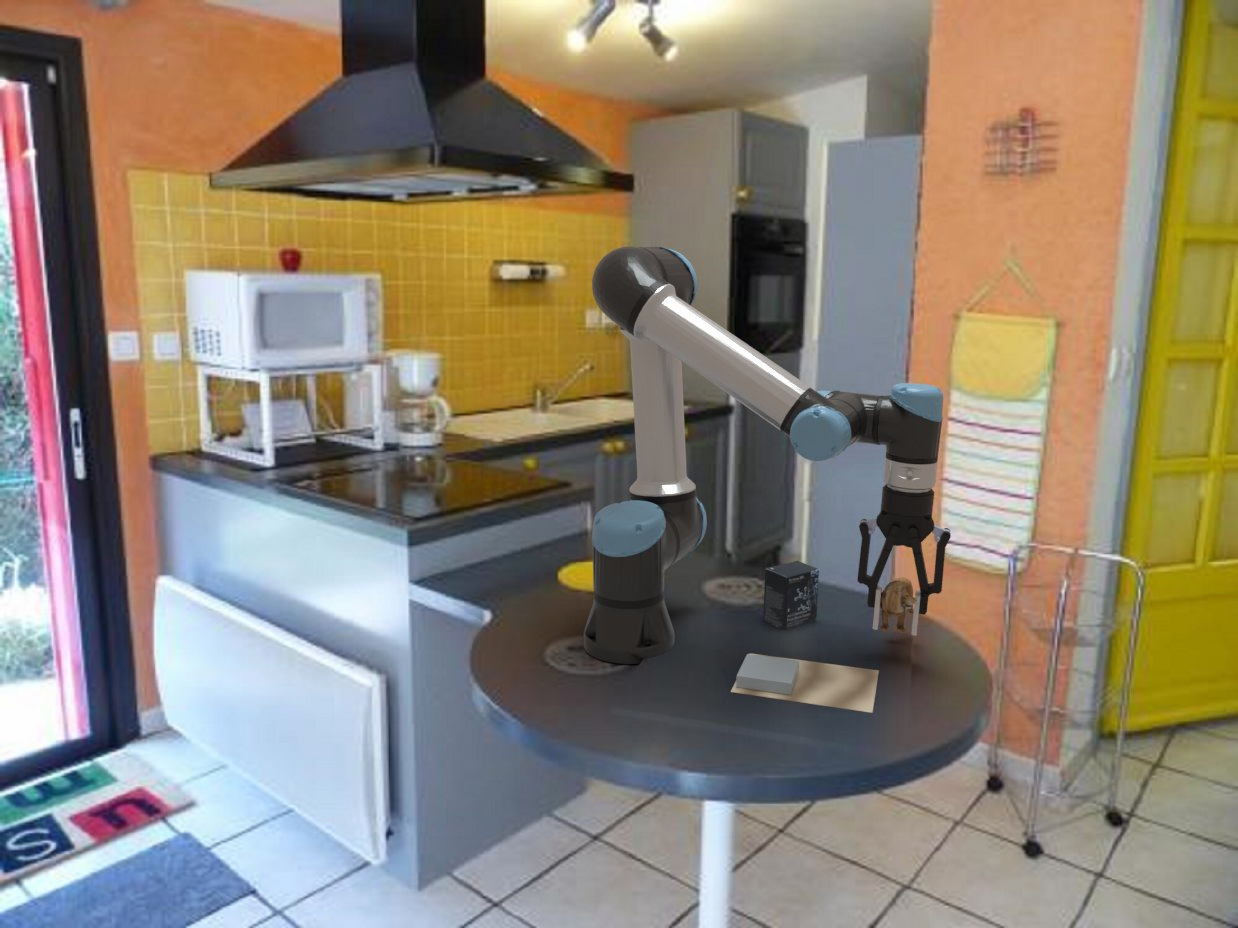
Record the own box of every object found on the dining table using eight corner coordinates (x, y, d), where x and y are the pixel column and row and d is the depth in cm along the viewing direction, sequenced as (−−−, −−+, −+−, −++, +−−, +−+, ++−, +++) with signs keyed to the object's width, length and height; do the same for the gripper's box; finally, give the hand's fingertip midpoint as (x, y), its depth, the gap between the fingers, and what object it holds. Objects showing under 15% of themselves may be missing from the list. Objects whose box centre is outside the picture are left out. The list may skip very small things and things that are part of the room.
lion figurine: (913, 643, 138) (917, 587, 136) (877, 639, 140) (880, 584, 138) (914, 608, 152) (917, 557, 150) (881, 604, 154) (884, 554, 152)
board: (730, 697, 132) (730, 691, 132) (749, 658, 145) (749, 653, 145) (872, 719, 126) (872, 712, 126) (878, 676, 139) (878, 670, 139)
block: (747, 665, 141) (736, 687, 133) (747, 653, 140) (736, 675, 133) (798, 672, 138) (790, 695, 131) (799, 660, 138) (791, 683, 130)
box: (784, 635, 154) (786, 576, 152) (762, 624, 159) (763, 567, 157) (817, 625, 159) (820, 568, 156) (794, 615, 163) (796, 559, 161)
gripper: (845, 486, 137) (833, 629, 142) (973, 499, 131) (956, 647, 136) (849, 475, 144) (838, 612, 149) (971, 486, 138) (955, 628, 143)
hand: (894, 628), depth 143 cm, fingers closed on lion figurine, 5 cm apart
